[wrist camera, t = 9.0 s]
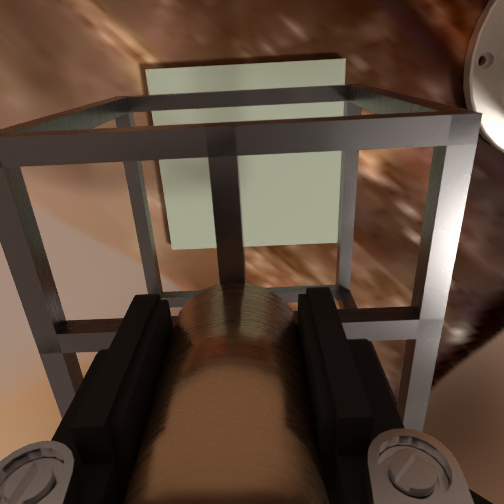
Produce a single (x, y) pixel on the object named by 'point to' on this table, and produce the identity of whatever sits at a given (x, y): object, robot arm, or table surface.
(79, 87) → the table surface
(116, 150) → the dark grey metal frame
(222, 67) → the mat
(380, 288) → the table surface
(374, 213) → the table surface
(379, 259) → the table surface
